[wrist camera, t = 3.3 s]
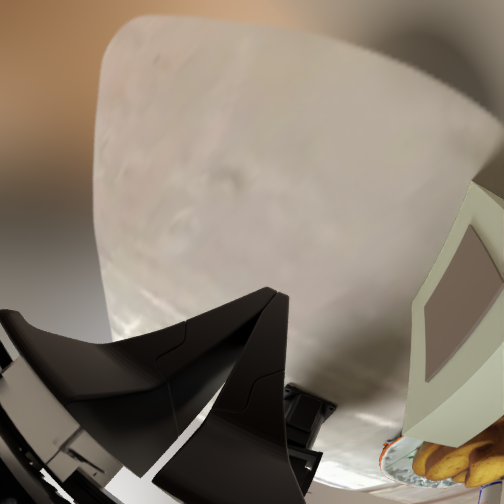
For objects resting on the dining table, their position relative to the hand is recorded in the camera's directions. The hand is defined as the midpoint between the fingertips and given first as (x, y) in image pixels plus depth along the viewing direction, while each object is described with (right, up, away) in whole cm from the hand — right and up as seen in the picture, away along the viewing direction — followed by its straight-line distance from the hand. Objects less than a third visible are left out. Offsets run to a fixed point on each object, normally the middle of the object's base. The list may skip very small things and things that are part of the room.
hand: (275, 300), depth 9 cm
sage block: (+14, +1, +6) cm, 15 cm away
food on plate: (+28, -24, +12) cm, 39 cm away
